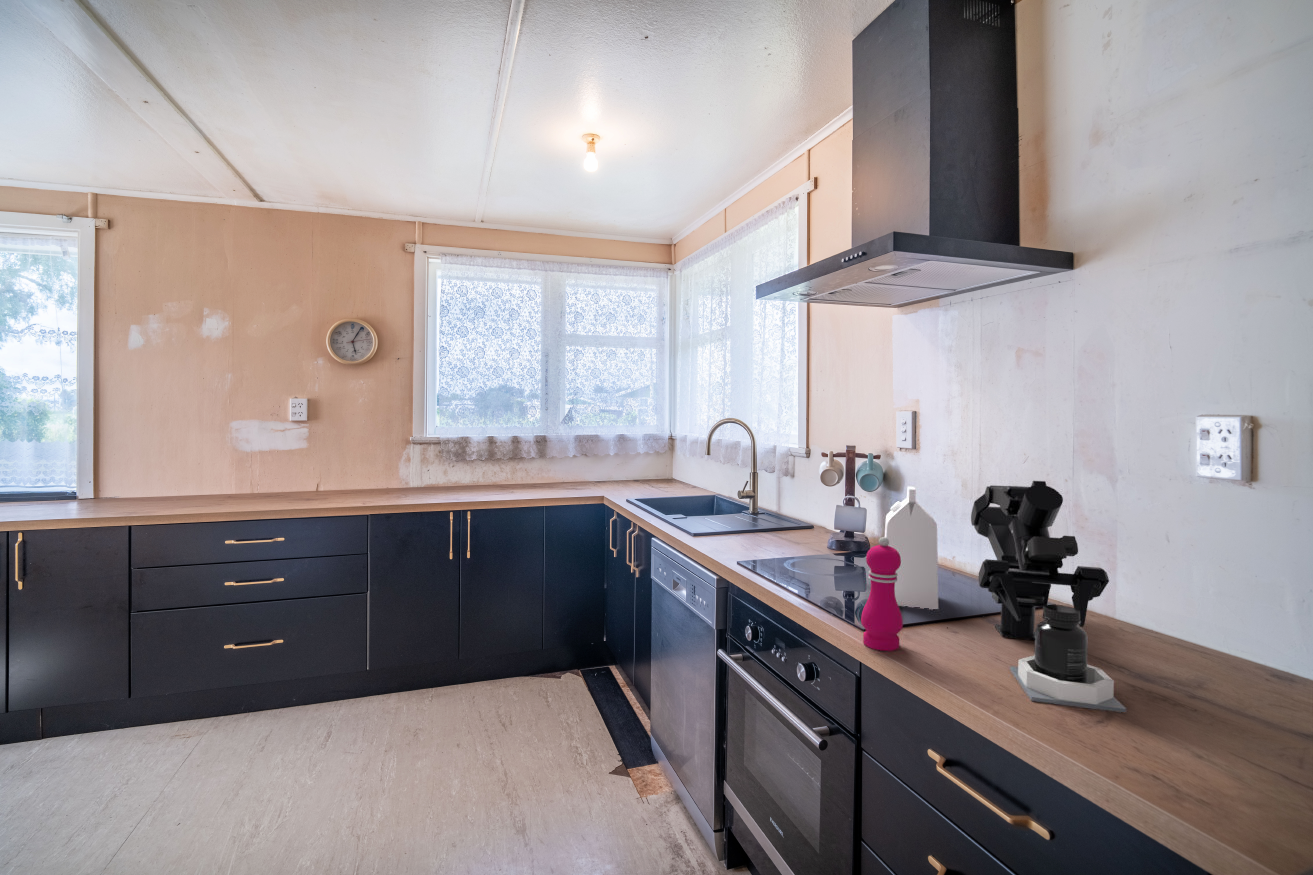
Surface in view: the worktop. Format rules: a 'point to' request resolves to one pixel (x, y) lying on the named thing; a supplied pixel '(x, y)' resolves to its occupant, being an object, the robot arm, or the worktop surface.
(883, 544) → the pepper mill
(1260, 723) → the worktop surface
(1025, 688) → the collar seat
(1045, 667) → the supplement bottle
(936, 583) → the milk
